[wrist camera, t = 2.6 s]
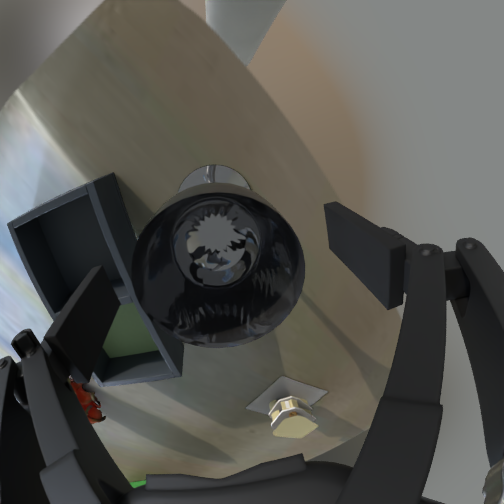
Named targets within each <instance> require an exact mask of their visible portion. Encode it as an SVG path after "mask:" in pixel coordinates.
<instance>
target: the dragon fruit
mask: <svg viewBox="0 0 504 504" xmlns="http://www.w3.org/2000/svg"><path fill="white" fill-rule="evenodd" d="M74 381H75V380H74V379H73V380H70V379H69V377H68V382H69V383H70V384H71V385H72V387H73V389H74V391H75V394H76V396H77V398H78V400H79V402H80V404H81V406H82V408H83V410H84V412H85V414H86V415H87V417H88V419H89V421H90V423H91V424H94V423H96V422H101V421H103V420H105V418H106V416H107V415H106V416H104V417H102V412H101V411H100V410H98V409H97V408H100V407H101V404H100V402H99V401H98V400H97V398H96V397H95V395H94V394H95V393H94V392H93V393H89V392H86V391H85V390H83V389H82V385H83V383H76V382H74ZM95 401H96V402H97V403H98V404H99V406H98V405H97V404H96V403H95Z"/></svg>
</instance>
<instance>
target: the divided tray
mask: <svg viewBox="0 0 504 504" xmlns="http://www.w3.org/2000/svg"><path fill="white" fill-rule="evenodd" d="M7 226H8V228H9V231H10V234H11V236H12V239H13V241H14V244H15V246H16V248H17V251H18V253H19V255H20V258H21V260H22V262H23V264H24V267H25V269H26V271H27V273H28V275H29V277H30V279H31V281H32V283H33V285H34V287H35V289H36V291H37V293H38V294H39V296H40V298H41V300H42V302H43V304H44V305H45V307H46V309H47V311H48V312H49V314H50V316H51V317H52V319H53V321H55V319H56V318H57V316H58V315H59V313H60V312H61V310H62V309H63V307H64V306H65V304H66V303H67V302H68V300H69V299H70V297H71V296H72V295H73V293H74V292H75V290H76V289H77V288H78V286H79V285H80V284H81V282H82V281H83V280H84V278H85V277H86V276H87V274H88V273H89V272H90V270H91V269H92V268H94V267H97V266H100V265H103V267H104V269H105V271H106V274H107V276H108V278H109V280H110V282H111V284H112V287H113V289H114V291H115V293H116V295H117V297H118V299H119V301H120V303H121V305H120V307H119V309H118V311H117V314H116V316H115V318H114V321H113V323H112V325H111V328H110V330H109V332H108V335H107V337H106V340H105V342H104V344H103V347H102V349H101V352H100V355H99V357H98V360H97V362H96V365H95V368H94V370H93V373H92V377H93V378H94V380H95V381H96V382H97V383H98V385H99V386H100V387H105V386H116V385H126V384H134V383H142V382H150V381H157V380H163V379H170V378H175V377H181V376H182V366H183V353H184V345H183V343H182V341H180V340H178V339H176V338H174V337H172V336H170V335H169V334H167V333H166V332H164V331H163V330H161V329H160V328H159V327H158V326H157V325H155V324H154V323H153V322H152V321H151V320H150V319H149V317H148V316H147V315H146V313H145V312H144V311H143V309H142V308H141V306H140V304H139V302H138V300H137V298H136V296H135V292H134V289H133V285H132V278H131V263H132V255H133V252H134V249H135V246H136V243H137V239H136V236H135V234H134V231H133V228H132V225H131V223H130V220H129V217H128V214H127V211H126V209H125V206H124V203H123V200H122V197H121V194H120V191H119V187H118V184H117V181H116V178H115V175H114V172H113V173H110V174H108V175H105V176H103V177H100V178H98V179H95V180H93V181H91V182H88V183H86V184H84V185H81V186H79V187H77V188H75V189H72V190H70V191H68V192H66V193H64V194H62V195H59V196H57V197H55V198H53V199H51V200H49V201H47V202H45V203H43V204H41V205H39V206H37V207H35V208H33V209H32V210H30V211H28V212H26V213H24V214H23V215H21V216H19V217H17V218H16V219H14V220H12V221H10V222H9V223H7Z"/></svg>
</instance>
